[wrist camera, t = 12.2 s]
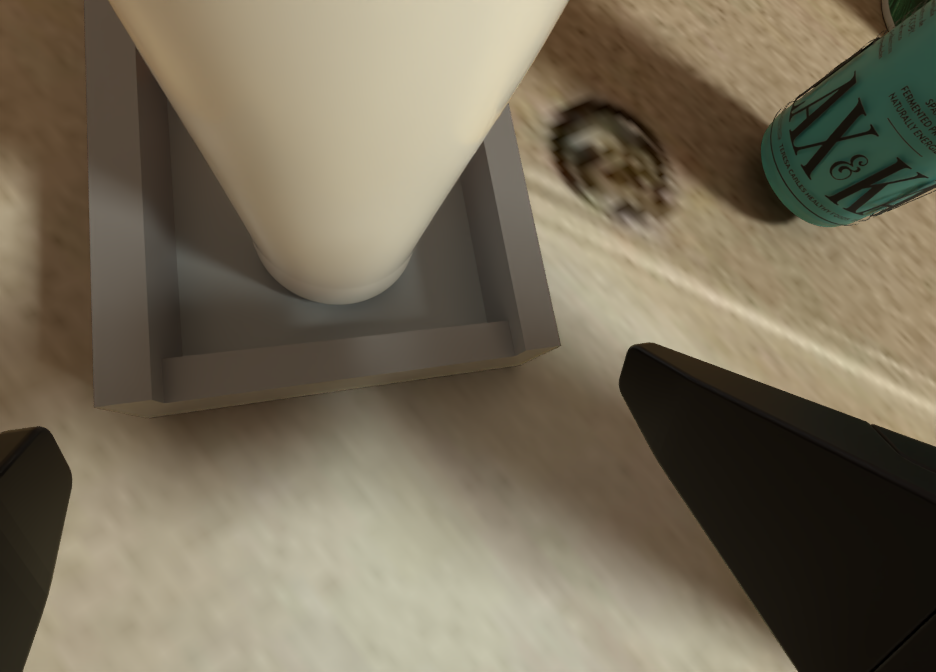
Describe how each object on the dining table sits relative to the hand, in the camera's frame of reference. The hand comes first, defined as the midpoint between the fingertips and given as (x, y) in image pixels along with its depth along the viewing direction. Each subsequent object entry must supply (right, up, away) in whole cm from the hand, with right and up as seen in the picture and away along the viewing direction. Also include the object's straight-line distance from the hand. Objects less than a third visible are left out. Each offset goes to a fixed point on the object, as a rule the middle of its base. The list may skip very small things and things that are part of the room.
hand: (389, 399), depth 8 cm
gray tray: (-4, +8, +10) cm, 14 cm away
